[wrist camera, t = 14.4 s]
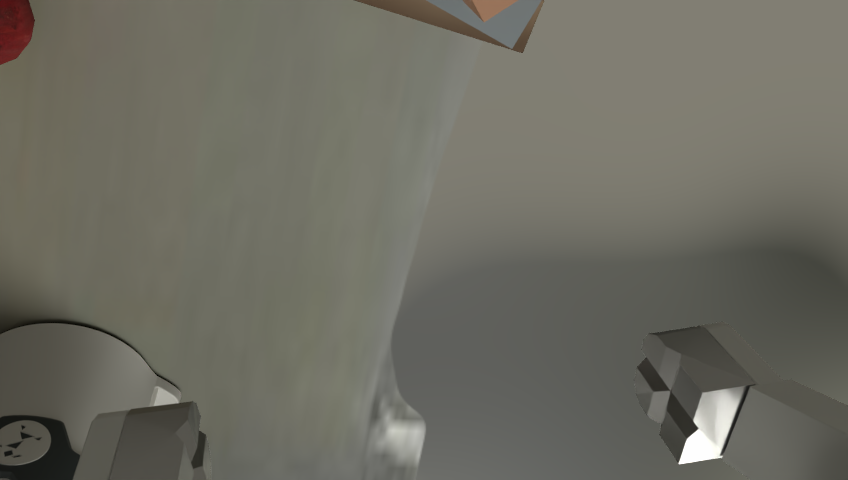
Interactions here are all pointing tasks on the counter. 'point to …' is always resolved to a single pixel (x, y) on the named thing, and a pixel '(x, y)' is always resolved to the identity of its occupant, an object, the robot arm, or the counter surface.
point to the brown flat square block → (448, 19)
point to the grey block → (494, 18)
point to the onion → (14, 28)
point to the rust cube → (488, 7)
